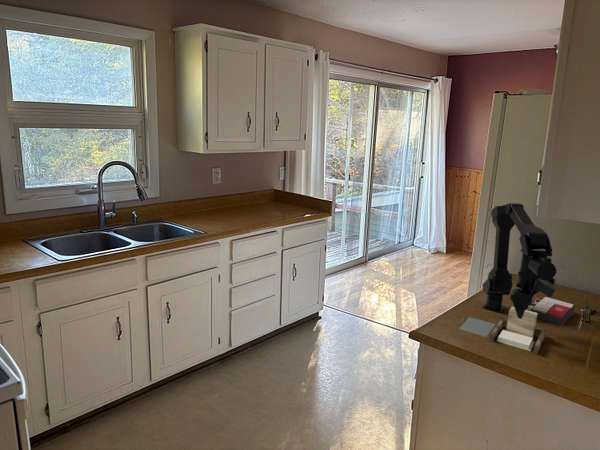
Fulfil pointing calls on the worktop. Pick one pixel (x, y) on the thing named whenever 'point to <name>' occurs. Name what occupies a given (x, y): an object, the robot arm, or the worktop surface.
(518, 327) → the cream rectangular block
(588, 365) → the worktop surface
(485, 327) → the mat
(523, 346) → the offcut upper
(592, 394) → the worktop surface
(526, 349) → the offcut lower
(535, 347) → the rack
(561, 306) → the red white carton
